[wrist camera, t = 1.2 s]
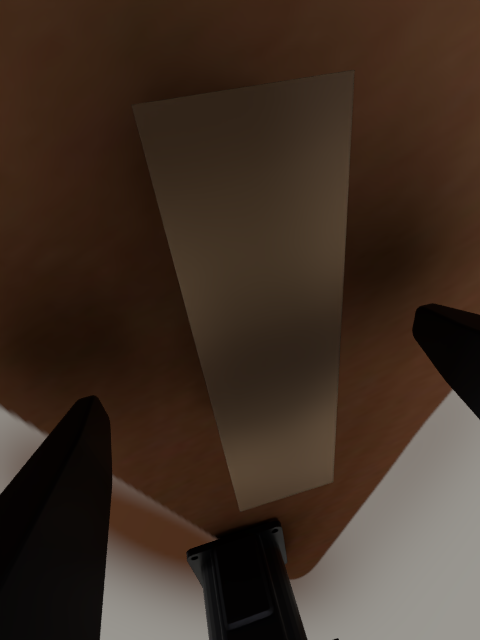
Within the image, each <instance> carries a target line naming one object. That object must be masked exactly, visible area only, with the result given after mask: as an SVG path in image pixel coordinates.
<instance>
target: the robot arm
mask: <svg viewBox="0 0 480 640" xmlns="http://www.w3.org/2000/svg"><path fill="white" fill-rule="evenodd" d="M412 332H413V336H414V338H415V340H416V341H417V342H418V344H419V345H420V347H421V348H422V349H423V351H424V352H425V353H426V355H427V356H428V358H429V359H430V360H431V362H432V363H433V365H434V366H435V367H436V369H437V370H438V371H439V373H440V374H441V375H442V377H443V378H444V379H445V381H446V382H447V383H448V384H449V385H450V387H451V388H452V389H453V390H454V391H455V392H456V393H457V394H458V396H459V397H460V398H461V399H462V400H463V401H464V402H465V403H466V404H467V406H468V407H469V408H470V409H471V410H472V411H473V412H474V414H475V415H476V416H477V417H478V418H479V419H480V315H478V314H474V313H470V312H466V311H462V310H458V309H454V308H450V307H446V306H442V305H438V304H433V303H432V304H427V305H423V306H420V307H418V308H417V310H416V313H415V318H414V324H413V329H412ZM111 493H112V455H111V429H110V420H109V417H108V415H107V413H106V411H105V409H104V407H103V406H102V404H101V402H100V400H99V399H98V397H96V396H94V395H92V396H88V397H85V398H81V399H79V400H77V401H76V403H75V404H74V405H73V406H72V407H71V409H70V410H69V411H68V412H67V414H66V415H65V416H64V417H63V418H62V420H61V421H60V422H59V423H58V425H57V426H56V427H55V428H54V429H53V431H52V432H51V433H50V434H49V436H48V437H47V438H46V439H45V440H44V442H43V443H42V444H41V446H40V447H39V448H38V449H37V450H36V452H35V453H34V454H33V455H32V456H31V458H30V459H29V460H28V461H27V462H26V464H25V465H24V466H23V467H22V469H21V470H20V471H19V472H18V473H17V475H16V476H15V477H14V478H13V480H12V481H11V482H10V484H9V485H8V486H7V487H6V488H5V489H4V491H3V492H2V493H1V494H0V640H100V629H101V617H102V605H103V592H104V579H105V568H106V555H107V543H108V530H109V518H110V506H111V505H110V504H111ZM187 561H188V563H189V565H190V566H191V568H192V570H193V572H194V573H195V575H196V577H197V578H198V580H199V582H200V584H201V585H202V587H203V592H204V600H205V609H206V617H207V626H208V634H209V640H307V637H306V633H305V630H304V627H303V623H302V620H301V617H300V614H299V610H298V607H297V604H296V601H295V597H294V594H293V591H292V587H291V584H290V581H289V577H288V574H287V571H286V567H285V564H286V563H287V556H286V550H285V544H284V538H283V531H282V527H281V524H280V522H279V521H272V522H269V523H266V524H263V525H260V526H257V527H254V528H251V529H248V530H245V531H242V532H239V533H236V534H233V535H230V536H227V537H224V538H221V539H218V540H215V541H212V542H209V543H206V544H204V545H200V546H198V547H195V548H192V549H189V550H188V551H187ZM334 640H339V639H338V638H337V639H334Z"/></svg>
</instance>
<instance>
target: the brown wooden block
mask: <svg viewBox="0 0 480 640" xmlns="http://www.w3.org/2000/svg"><path fill="white" fill-rule="evenodd" d="M354 71H355V70H350V71H344V72H338V73H331V74H325V75H318V76H312V77H306V78H299V79H293V80H287V81H280V82H274V83H267V84H261V85H255V86H248V87H242V88H236V89H229V90H223V91H216V92H210V93H204V94H197V95H191V96H185V97H178V98H172V99H165V100H159V101H153V102H146V103H140V104H134V105H131V106H132V109H133V113H134V117H135V121H136V124H137V128H138V132H139V136H140V139H141V143H142V147H143V150H144V154H145V158H146V162H147V165H148V169H149V173H150V177H151V180H152V184H153V188H154V192H155V195H156V199H157V203H158V207H159V210H160V214H161V218H162V222H163V225H164V229H165V233H166V237H167V240H168V244H169V248H170V251H171V255H172V259H173V263H174V266H175V270H176V274H177V278H178V281H179V285H180V289H181V293H182V296H183V300H184V304H185V308H186V311H187V315H188V319H189V323H190V326H191V330H192V334H193V338H194V341H195V345H196V349H197V352H198V356H199V360H200V364H201V367H202V371H203V375H204V379H205V382H206V386H207V390H208V394H209V397H210V401H211V405H212V409H213V412H214V416H215V420H216V424H217V427H218V431H219V435H220V439H221V442H222V446H223V450H224V453H225V457H226V461H227V465H228V468H229V472H230V476H231V480H232V483H233V487H234V491H235V495H236V498H237V502H238V506H239V510H240V512H241V511H244V510H247V509H251V508H254V507H257V506H260V505H263V504H266V503H269V502H272V501H276V500H279V499H282V498H285V497H288V496H291V495H294V494H297V493H300V492H304V491H307V490H310V489H313V488H316V487H319V486H322V485H325V484H328V483H332V482H333V473H334V454H335V435H336V416H337V396H338V377H339V358H340V339H341V320H342V301H343V282H344V262H345V243H346V224H347V205H348V186H349V167H350V147H351V128H352V109H353V90H354Z"/></svg>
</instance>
